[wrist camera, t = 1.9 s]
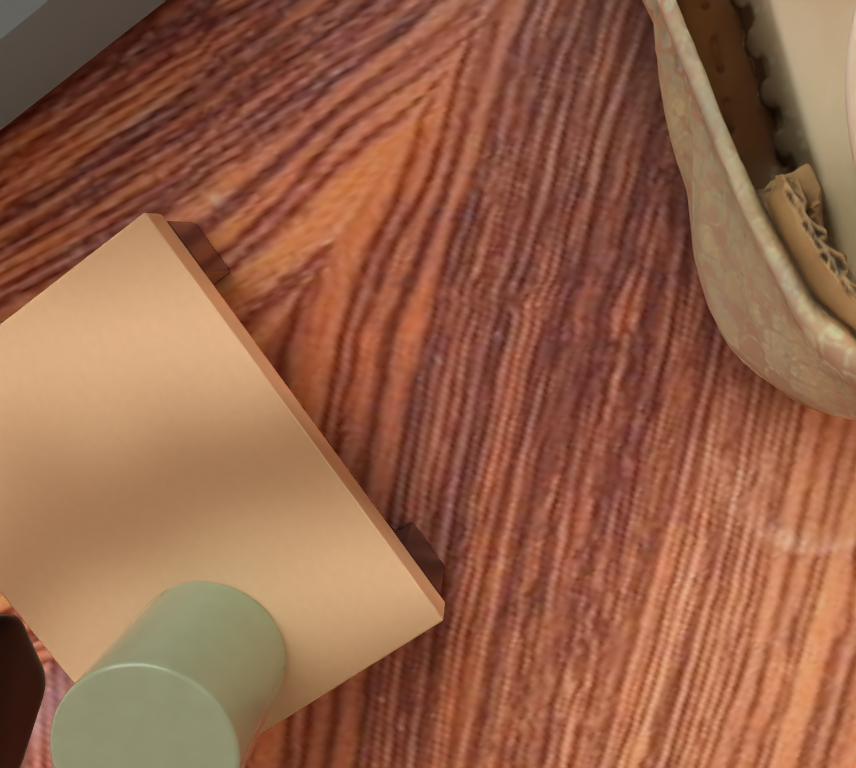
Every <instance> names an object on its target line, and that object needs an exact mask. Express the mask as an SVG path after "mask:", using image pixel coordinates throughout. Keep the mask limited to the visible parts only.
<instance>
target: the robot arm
mask: <svg viewBox="0 0 856 768" xmlns="http://www.w3.org/2000/svg"><path fill="white" fill-rule="evenodd" d="M44 691H45V673H44V669H43V666H42V664H41V661H40V659H39V657H38V655H37V653H36V650H35V648H34V646H33V644H32V642H31V639H30V637H29V635H28V633H27V631H26V628H25V626H24V624H23V623H22V621H21V620H20V619H19V618H18V617H16V616H15V615H11V614H0V768H21V765H22V761H23V758H24V755H25V752H26V749H27V746H28V743H29V739H30V736H31V733H32V730H33V727H34V724H35V721H36V718H37V714H38V711H39V708H40V705H41V702H42V699H43V695H44Z"/></svg>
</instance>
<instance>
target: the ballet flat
mask: <svg viewBox="0 0 856 768" xmlns="http://www.w3.org/2000/svg"><path fill="white" fill-rule="evenodd" d="M642 1H643V3H644V5H645V7H646V9H647V11H648V13H649V15H650V17H651V19H652V22H653V24H654V36H655V52H656V54H657V63H658V76H659V83H660V89H661V95H662V101H663V107H664V113H665V118H666V122H667V127H668V131H669V136H670V140H671V144H672V147H673V151H674V155H675V158H676V161H677V164H678V167H679V170H680V173H681V176H682V179H683V182H684V185H685V188H686V192H687V197H688V206H689V217H690V226H691V235H692V247H693V254H694V258H695V263H696V268H697V272H698V276H699V279H700V283H701V286H702V289H703V292H704V296H705V299H706V302H707V305H708V308H709V310H710V312H711V314H712V316H713V318H714V320H715V322H716V323H717V326H718V329H719V331H720V334H721V335H722V337H723V338H724V339H725V341H726V343H727V345H728V346H729V347H730V348H731V350H732V351H733V352H734V353H735V354H736V355H737V357H738V358H740V360H741V361H742V362H743V363H744V364H746V365H747V366H748V367H749V368H750V369H752V370H753V371H754V372H755V373H756V374H757V375H758V376H760V377H761V378H763V379H764V380H766V381H767V382H769V383H770V384H772V385H773V386H775V387H776V388H777V389H779V390H780V391H782V392H783V393H785V394H786V395H787V396H789V397H790V398H792V399H793V400H794V401H796V402H798V403H800V404H803V405H805V406H807V407H809V408H811V409H814V410H816V411H819V412H822V413H825V414H829V415H833V416H836V417H841V418H846V419H851V420H855V421H856V0H642Z"/></svg>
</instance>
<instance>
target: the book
mask: <svg viewBox="0 0 856 768" xmlns="http://www.w3.org/2000/svg"><path fill="white" fill-rule="evenodd" d="M165 1H166V0H0V130H1V129H3V128H4V127H5V126H7V125H8V124H9V123H10V122H12V121H13V120H14V119H16V118H17V117H18V116H19V115H21V114H22V113H23V112H24V111H26V110H27V109H28V108H30V107H31V106H32V105H33V104H35V103H36V102H37V101H38V100H40V99H41V98H42V97H44V96H45V95H46V94H47V93H49V92H50V91H51V90H53V89H54V88H55V87H56V86H58V85H59V84H60V83H61V82H63V81H64V80H65V79H67V78H68V77H69V76H70V75H72V74H73V73H74V72H76V71H77V70H78V69H79V68H81V67H82V66H83V65H84V64H86V63H87V62H88V61H90V60H91V59H92V58H93V57H95V56H96V55H97V54H98V53H100V52H101V51H102V50H104V49H105V48H106V47H107V46H109V45H110V44H111V43H113V42H114V41H115V40H116V39H118V38H119V37H120V36H121V35H123V34H124V33H125V32H127V31H128V30H129V29H130V28H132V27H133V26H134V25H135V24H137V23H138V22H139V21H141V20H142V19H143V18H144V17H146V16H147V15H148V14H150V13H151V12H152V11H153V10H155V9H156V8H157V7H158V6H160V5H161V4H162V3H164V2H165Z"/></svg>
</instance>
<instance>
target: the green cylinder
mask: <svg viewBox="0 0 856 768" xmlns="http://www.w3.org/2000/svg"><path fill="white" fill-rule="evenodd" d="M285 670H286V653H285V648H284V643H283V640H282V637H281V634H280V632H279V630H278V628H277V626H276V624H275V622H274V621H273V619H272V618H271V616H270V615H269V614H268V613H267V611H266V610H265V609H264V608H263V607H262V606H261V605H260V604H259V603H258V602H256V601H255V600H254V599H252V598H251V597H250V596H248V595H247V594H245V593H243V592H241V591H239V590H237V589H235V588H232V587H230V586H227V585H223V584H219V583H213V582H191V583H185V584H181V585H177V586H174V587H172V588H169V589H167V590H165V591H164V592H162V593H160V594H159V595H157V596H156V597H155V598H153V599H152V600H151V601H150V602H149V603H148V604H147V605H146V606H145V607H144V608H143V609H142V611H141V612H140V613H139V614H138V615H137V616H136V617H135V618H134V619H133V620H132V621H131V622H130V624H129V625H128V626H127V627H126V628H125V629H124V630H123V631H122V632H121V633H120V634H119V636H118V637H117V638H116V639H115V640H114V641H113V642H112V643H111V644H110V645H109V646H108V648H107V649H106V650H105V651H104V652H103V653H102V654H101V655H100V656H99V657H98V658H97V659H96V661H95V662H94V663H93V664H92V665H91V666H90V667H89V668H88V669H87V670H86V671H85V673H84V674H83V675H82V676H81V677H80V678H79V679H78V680H77V681H76V682H75V683H74V685H73V686H72V687H71V688H70V689H69V690H68V691H67V692H66V694H65V695H64V697H63V698H62V700H61V701H60V703H59V705H58V707H57V709H56V712H55V715H54V718H53V721H52V727H51V733H50V750H51V758H52V762H53V766H54V768H245V766H246V764H247V762H248V759H249V757H250V755H251V753H252V751H253V748H254V746H255V744H256V742H257V739H258V737H259V735H260V733H261V731H262V728H263V726H264V724H265V722H266V720H267V717H268V715H269V713H270V711H271V709H272V706H273V704H274V702H275V700H276V697H277V695H278V693H279V691H280V688H281V686H282V683H283V680H284V676H285Z"/></svg>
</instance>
